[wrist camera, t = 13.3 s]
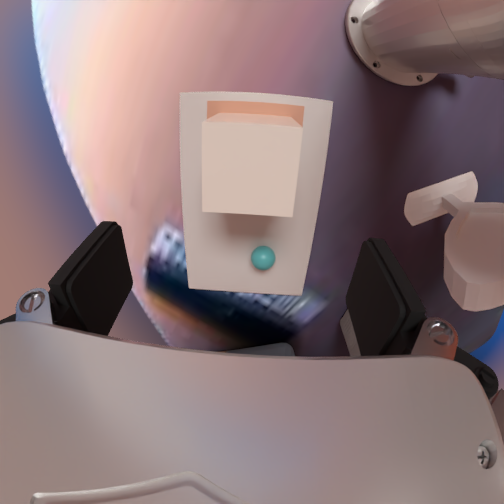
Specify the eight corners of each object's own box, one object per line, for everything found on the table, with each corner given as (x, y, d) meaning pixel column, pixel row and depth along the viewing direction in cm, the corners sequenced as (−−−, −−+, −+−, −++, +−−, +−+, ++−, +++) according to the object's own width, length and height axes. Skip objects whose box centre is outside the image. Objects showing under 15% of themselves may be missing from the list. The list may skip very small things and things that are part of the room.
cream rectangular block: (291, 117, 26) (303, 127, 19) (284, 182, 30) (292, 217, 23) (219, 112, 26) (201, 122, 19) (217, 178, 30) (202, 211, 23)
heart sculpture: (481, 168, 28) (570, 231, 12) (482, 199, 30) (560, 269, 15) (394, 197, 31) (475, 290, 16) (400, 230, 34) (467, 329, 19)
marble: (276, 241, 35) (277, 255, 32) (273, 261, 36) (274, 276, 34) (251, 240, 35) (251, 253, 32) (250, 260, 36) (249, 274, 34)
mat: (331, 101, 26) (333, 101, 25) (301, 292, 40) (301, 295, 39) (181, 92, 26) (179, 92, 25) (189, 285, 40) (188, 288, 39)
